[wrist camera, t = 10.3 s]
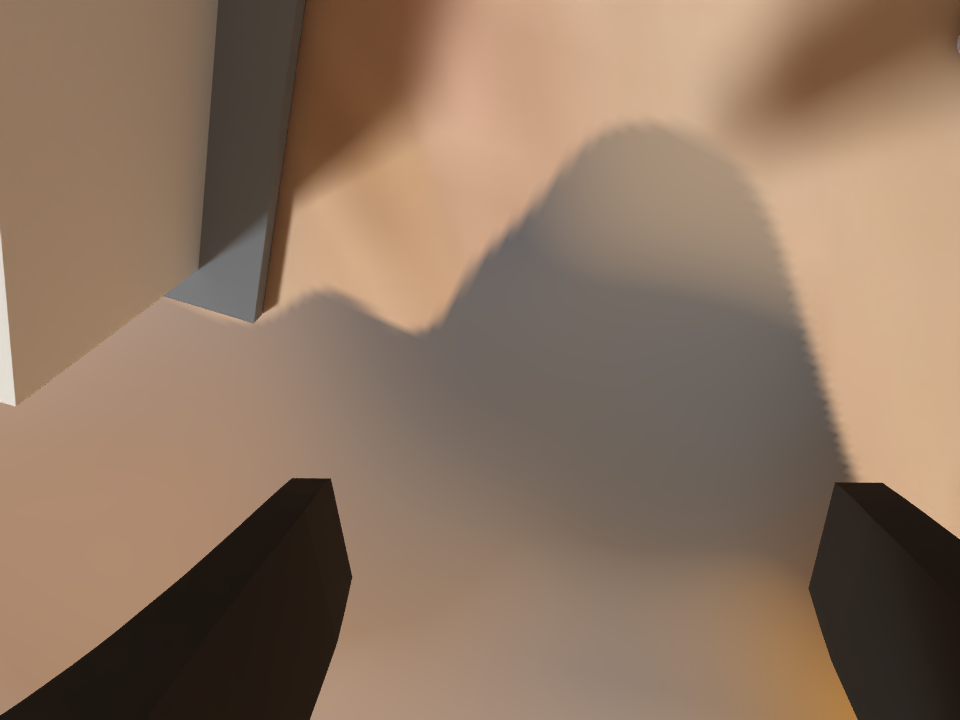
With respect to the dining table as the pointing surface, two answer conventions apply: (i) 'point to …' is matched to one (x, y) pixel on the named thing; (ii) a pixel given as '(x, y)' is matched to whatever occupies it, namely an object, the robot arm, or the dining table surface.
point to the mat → (244, 153)
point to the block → (96, 171)
